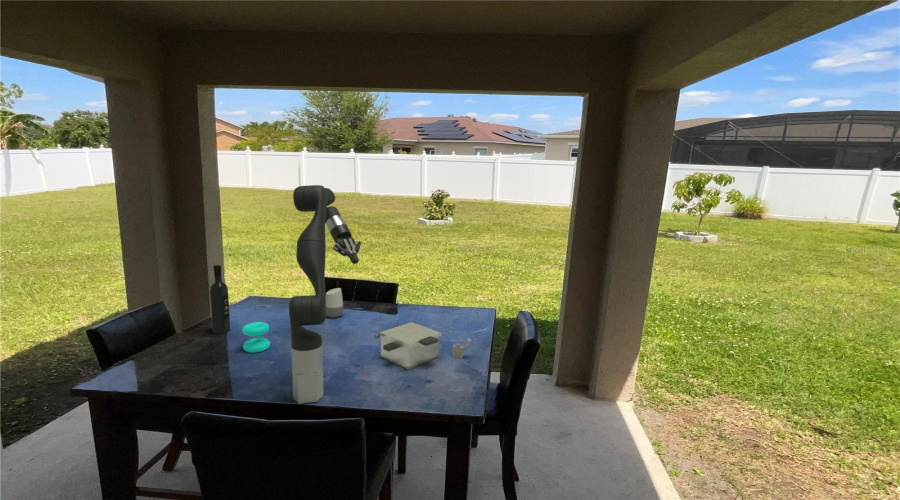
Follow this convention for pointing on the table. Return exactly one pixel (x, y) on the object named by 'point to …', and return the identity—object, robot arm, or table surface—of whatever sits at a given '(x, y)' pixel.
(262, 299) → the table surface
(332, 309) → the smart speaker
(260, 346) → the donuts
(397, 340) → the lid
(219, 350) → the table surface
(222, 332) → the wine bottle
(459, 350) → the lighter
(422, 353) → the grey rectangular box
